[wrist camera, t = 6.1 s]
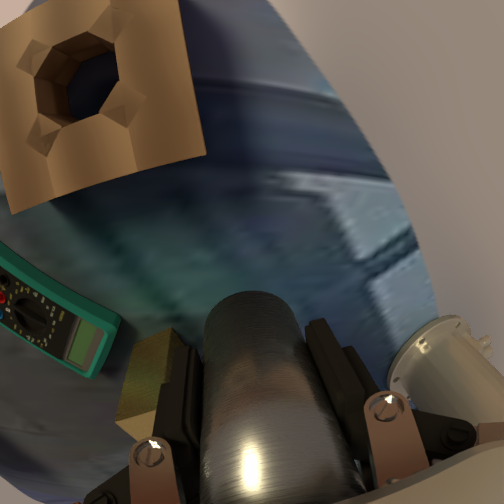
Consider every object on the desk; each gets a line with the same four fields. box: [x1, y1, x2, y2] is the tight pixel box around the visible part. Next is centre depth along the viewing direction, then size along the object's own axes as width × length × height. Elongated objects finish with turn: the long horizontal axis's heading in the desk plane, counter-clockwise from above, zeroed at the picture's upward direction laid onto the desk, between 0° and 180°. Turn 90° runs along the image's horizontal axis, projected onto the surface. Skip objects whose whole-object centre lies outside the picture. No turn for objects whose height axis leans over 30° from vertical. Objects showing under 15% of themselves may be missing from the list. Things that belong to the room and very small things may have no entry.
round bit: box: [200, 291, 367, 504], centre depth 9 cm, size 4×4×9 cm
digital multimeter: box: [0, 242, 121, 379], centre depth 22 cm, size 7×15×3 cm, turn 56°
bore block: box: [0, 0, 207, 215], centre depth 15 cm, size 13×13×5 cm
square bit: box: [115, 327, 185, 441], centre depth 21 cm, size 4×4×9 cm
